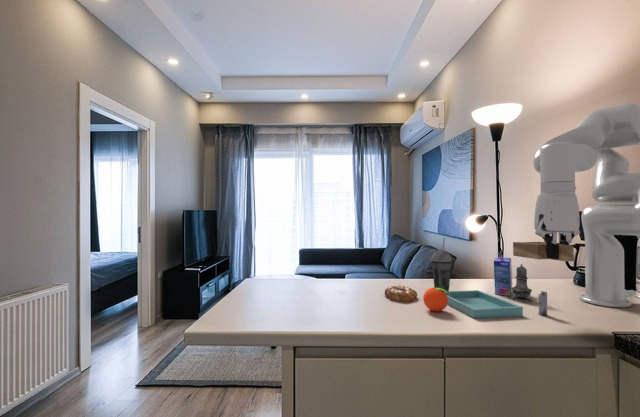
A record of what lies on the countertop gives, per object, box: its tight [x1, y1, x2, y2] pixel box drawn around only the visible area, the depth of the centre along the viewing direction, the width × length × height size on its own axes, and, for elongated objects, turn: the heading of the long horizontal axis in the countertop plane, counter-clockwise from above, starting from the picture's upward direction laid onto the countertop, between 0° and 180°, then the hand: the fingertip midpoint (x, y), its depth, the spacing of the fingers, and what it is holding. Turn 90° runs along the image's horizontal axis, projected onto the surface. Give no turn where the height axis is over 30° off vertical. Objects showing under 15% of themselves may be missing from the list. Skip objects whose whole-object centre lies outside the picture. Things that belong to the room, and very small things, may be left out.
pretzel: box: [384, 285, 418, 303], centre depth 112 cm, size 12×11×4 cm
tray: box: [445, 289, 524, 320], centre depth 101 cm, size 15×20×2 cm
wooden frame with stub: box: [512, 241, 575, 262], centre depth 91 cm, size 9×14×4 cm, turn 10°
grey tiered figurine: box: [511, 263, 533, 303], centre depth 109 cm, size 6×6×12 cm
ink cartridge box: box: [493, 251, 513, 297], centre depth 119 cm, size 10×6×14 cm, turn 148°
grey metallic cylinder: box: [538, 290, 548, 317], centre depth 93 cm, size 2×2×6 cm
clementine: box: [422, 287, 451, 313], centre depth 97 cm, size 8×7×7 cm
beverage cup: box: [430, 237, 453, 292], centre depth 118 cm, size 7×7×20 cm
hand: (557, 257), depth 87 cm, fingers closed on wooden frame with stub, 2 cm apart
